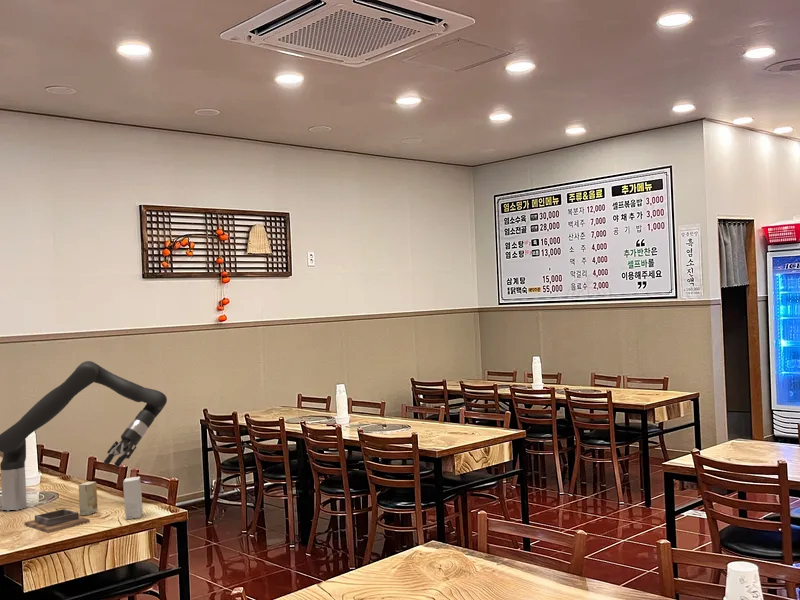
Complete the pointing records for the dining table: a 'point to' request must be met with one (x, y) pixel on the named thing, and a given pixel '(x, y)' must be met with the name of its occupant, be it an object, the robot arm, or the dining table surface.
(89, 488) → the skincare box
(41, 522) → the collar board
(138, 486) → the skincare box
